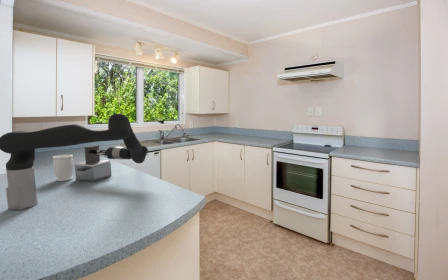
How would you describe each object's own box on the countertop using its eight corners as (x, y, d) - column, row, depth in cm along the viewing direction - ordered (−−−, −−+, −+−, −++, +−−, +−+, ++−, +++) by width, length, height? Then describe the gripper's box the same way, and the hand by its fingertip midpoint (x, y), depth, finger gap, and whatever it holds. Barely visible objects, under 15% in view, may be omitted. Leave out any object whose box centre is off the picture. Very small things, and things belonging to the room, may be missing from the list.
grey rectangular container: (90, 183, 139) (89, 168, 138) (71, 181, 143) (70, 166, 142) (114, 174, 158) (113, 161, 157) (97, 173, 162) (96, 160, 161)
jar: (64, 182, 141) (62, 157, 139) (50, 181, 143) (47, 157, 141) (78, 177, 151) (77, 154, 149) (65, 176, 153) (63, 153, 151)
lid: (92, 166, 141) (91, 148, 139) (74, 165, 144) (73, 147, 143) (110, 161, 154) (109, 145, 153) (93, 160, 158) (91, 144, 156)
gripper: (109, 161, 137) (86, 159, 143) (125, 157, 150) (103, 155, 155) (108, 148, 136) (85, 147, 142) (124, 145, 149) (102, 144, 154)
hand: (94, 151), depth 148 cm, fingers closed
